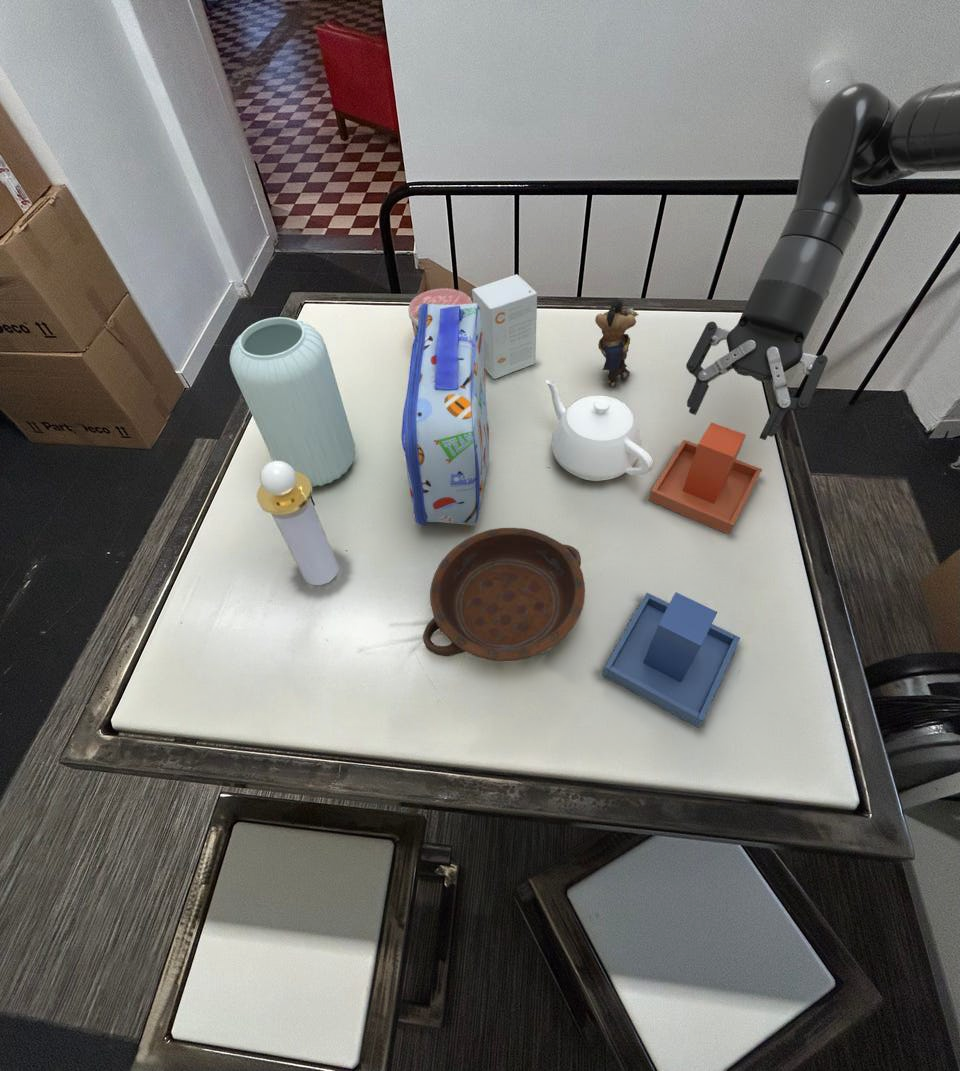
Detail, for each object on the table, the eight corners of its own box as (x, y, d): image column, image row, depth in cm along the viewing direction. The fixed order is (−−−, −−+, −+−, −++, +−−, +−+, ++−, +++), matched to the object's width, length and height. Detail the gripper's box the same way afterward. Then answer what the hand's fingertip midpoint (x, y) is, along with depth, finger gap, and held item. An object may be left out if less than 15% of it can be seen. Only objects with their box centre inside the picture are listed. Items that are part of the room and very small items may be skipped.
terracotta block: (726, 482, 84) (746, 434, 76) (714, 504, 82) (733, 457, 74) (694, 469, 85) (711, 421, 78) (682, 490, 83) (698, 443, 76)
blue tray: (735, 645, 70) (740, 637, 68) (698, 727, 65) (703, 720, 63) (643, 601, 74) (646, 592, 72) (602, 674, 69) (604, 667, 67)
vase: (264, 480, 88) (201, 352, 71) (310, 429, 94) (263, 299, 76) (330, 505, 85) (281, 377, 67) (373, 451, 91) (339, 320, 73)
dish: (625, 610, 73) (631, 589, 69) (475, 719, 66) (473, 702, 62) (533, 520, 82) (534, 496, 78) (392, 607, 75) (385, 586, 71)
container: (401, 351, 105) (394, 310, 98) (442, 322, 109) (438, 280, 103) (447, 375, 101) (442, 333, 94) (487, 344, 105) (486, 302, 99)
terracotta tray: (757, 479, 85) (762, 468, 83) (729, 535, 79) (733, 525, 77) (680, 449, 88) (683, 439, 87) (648, 500, 83) (651, 490, 81)
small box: (517, 344, 105) (517, 272, 94) (536, 364, 101) (538, 292, 91) (475, 359, 103) (470, 288, 92) (493, 380, 99) (490, 309, 89)
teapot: (513, 439, 91) (513, 385, 83) (573, 401, 96) (579, 347, 87) (612, 518, 82) (623, 466, 73) (673, 473, 86) (690, 419, 78)
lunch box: (423, 403, 97) (403, 272, 79) (488, 401, 96) (483, 269, 79) (411, 544, 80) (383, 419, 63) (490, 542, 80) (484, 416, 62)
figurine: (603, 399, 95) (616, 315, 83) (580, 380, 98) (590, 296, 86) (637, 382, 98) (654, 297, 85) (614, 364, 100) (627, 279, 88)
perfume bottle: (347, 586, 77) (303, 480, 61) (301, 597, 76) (245, 493, 60) (341, 550, 80) (298, 440, 64) (297, 560, 80) (243, 452, 64)
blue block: (696, 651, 69) (717, 611, 62) (681, 682, 67) (701, 646, 60) (659, 632, 71) (675, 591, 63) (642, 662, 69) (658, 624, 61)
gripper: (726, 262, 68) (665, 401, 72) (862, 297, 63) (788, 445, 67) (730, 283, 75) (673, 409, 79) (852, 316, 70) (786, 450, 74)
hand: (726, 426), depth 73 cm, fingers open, 8 cm apart
